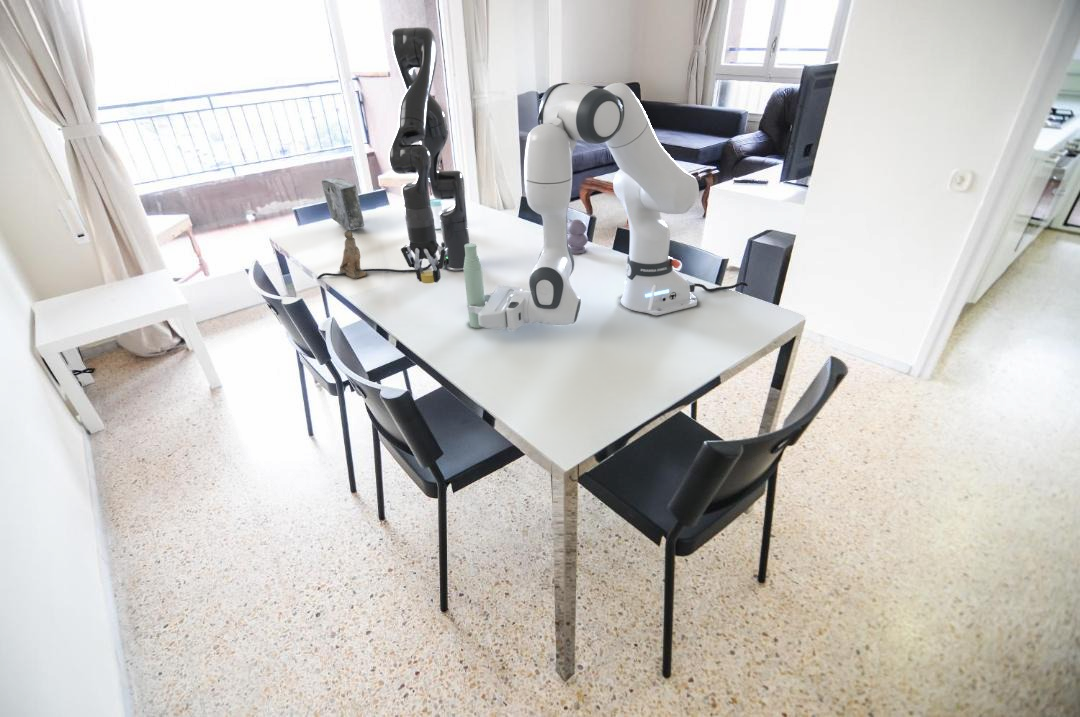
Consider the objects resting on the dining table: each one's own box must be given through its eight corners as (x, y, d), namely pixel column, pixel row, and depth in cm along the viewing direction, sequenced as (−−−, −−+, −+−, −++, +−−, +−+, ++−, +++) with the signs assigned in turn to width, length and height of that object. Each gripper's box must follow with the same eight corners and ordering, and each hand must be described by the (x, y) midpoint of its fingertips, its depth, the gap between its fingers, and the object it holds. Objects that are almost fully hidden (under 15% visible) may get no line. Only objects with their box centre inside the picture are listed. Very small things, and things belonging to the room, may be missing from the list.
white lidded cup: (445, 229, 220) (441, 202, 214) (429, 230, 220) (425, 202, 214) (447, 224, 226) (444, 198, 220) (432, 225, 226) (428, 198, 220)
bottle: (468, 328, 140) (459, 248, 128) (471, 320, 144) (463, 241, 132) (485, 328, 139) (477, 248, 127) (488, 320, 143) (481, 241, 131)
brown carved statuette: (368, 281, 178) (362, 235, 166) (353, 285, 175) (347, 238, 163) (352, 266, 184) (346, 221, 172) (338, 270, 181) (331, 224, 169)
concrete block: (369, 232, 221) (359, 185, 210) (349, 236, 216) (338, 189, 206) (350, 219, 239) (340, 176, 229) (331, 223, 235) (320, 179, 225)
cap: (437, 282, 144) (436, 274, 143) (422, 284, 143) (421, 276, 142) (436, 277, 148) (434, 269, 146) (421, 279, 147) (419, 271, 145)
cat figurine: (592, 250, 190) (592, 219, 184) (579, 256, 185) (579, 224, 179) (574, 246, 195) (575, 215, 189) (561, 251, 191) (561, 220, 184)
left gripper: (390, 226, 135) (401, 284, 144) (439, 227, 132) (447, 287, 141) (402, 218, 141) (412, 275, 150) (449, 219, 138) (456, 277, 147)
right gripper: (529, 281, 143) (483, 278, 145) (510, 312, 126) (459, 308, 128) (530, 301, 146) (485, 298, 149) (512, 334, 129) (461, 330, 132)
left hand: (429, 280), depth 145 cm, fingers closed on cap, 4 cm apart
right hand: (473, 303), depth 138 cm, fingers closed on bottle, 5 cm apart
